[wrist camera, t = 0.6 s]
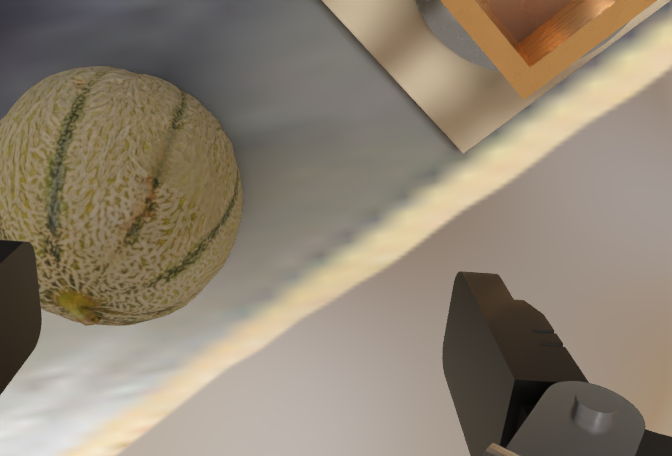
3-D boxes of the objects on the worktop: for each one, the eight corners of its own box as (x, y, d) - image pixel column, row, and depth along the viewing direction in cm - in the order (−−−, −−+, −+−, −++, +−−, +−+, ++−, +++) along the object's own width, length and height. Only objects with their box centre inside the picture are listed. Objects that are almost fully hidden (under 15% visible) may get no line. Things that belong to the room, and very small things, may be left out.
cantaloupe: (159, -15, 37) (30, 74, 25) (309, 172, 43) (265, 320, 30) (7, 114, 43) (-160, 239, 30) (157, 263, 49) (69, 419, 36)
